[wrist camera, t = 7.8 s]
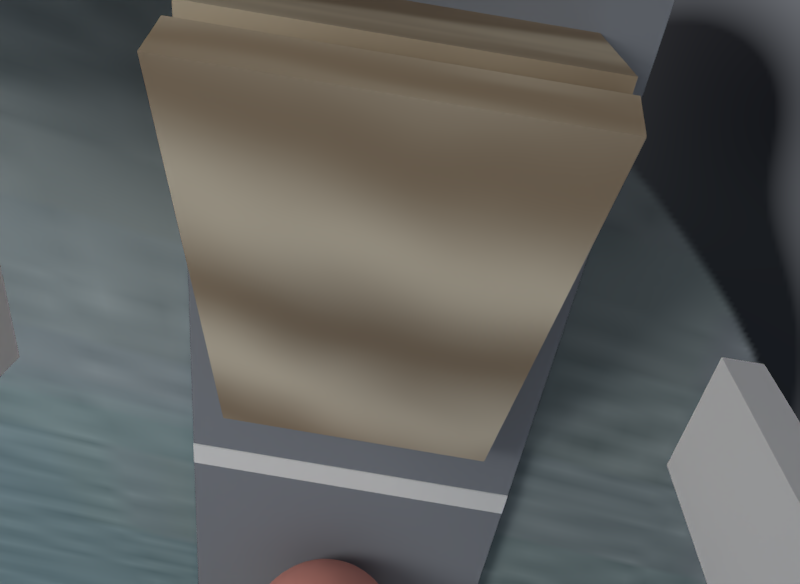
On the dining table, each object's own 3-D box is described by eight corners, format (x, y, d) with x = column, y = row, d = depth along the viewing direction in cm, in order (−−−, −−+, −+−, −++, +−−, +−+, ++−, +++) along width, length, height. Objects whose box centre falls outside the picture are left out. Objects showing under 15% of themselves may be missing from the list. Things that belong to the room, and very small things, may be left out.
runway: (180, -134, 16) (41, -141, 10) (685, -49, 16) (791, -15, 10) (202, 610, 31) (151, 750, 26) (452, 652, 32) (449, 800, 26)
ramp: (242, -30, 17) (134, 13, 11) (597, 29, 17) (659, 100, 11) (236, 388, 24) (169, 535, 19) (482, 429, 24) (487, 588, 19)
